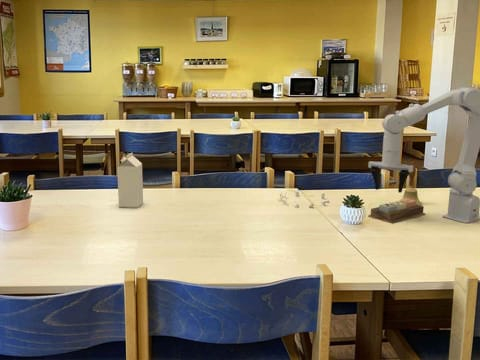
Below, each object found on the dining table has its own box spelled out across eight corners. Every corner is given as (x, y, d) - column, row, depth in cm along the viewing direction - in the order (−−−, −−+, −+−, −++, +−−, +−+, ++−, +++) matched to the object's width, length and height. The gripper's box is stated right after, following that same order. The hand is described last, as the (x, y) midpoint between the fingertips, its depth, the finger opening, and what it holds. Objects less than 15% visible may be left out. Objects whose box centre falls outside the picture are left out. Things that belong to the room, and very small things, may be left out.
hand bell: (416, 207, 201) (420, 164, 198) (395, 204, 206) (398, 162, 202) (424, 203, 207) (428, 161, 204) (403, 199, 212) (406, 159, 209)
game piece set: (278, 195, 219) (278, 186, 218) (328, 197, 217) (329, 187, 216) (276, 208, 200) (276, 198, 199) (332, 210, 198) (332, 199, 197)
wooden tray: (425, 214, 191) (425, 206, 191) (392, 223, 181) (392, 214, 180) (401, 208, 199) (402, 200, 198) (368, 216, 188) (369, 208, 188)
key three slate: (395, 213, 186) (396, 205, 185) (388, 214, 183) (388, 207, 183) (386, 210, 189) (386, 203, 188) (378, 212, 187) (379, 204, 186)
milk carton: (143, 203, 204) (141, 152, 200) (137, 208, 197) (136, 156, 193) (124, 202, 204) (122, 152, 200) (118, 207, 197) (116, 155, 193)
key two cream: (405, 210, 189) (406, 203, 188) (398, 212, 187) (399, 205, 186) (396, 208, 192) (396, 200, 192) (389, 209, 190) (389, 202, 189)
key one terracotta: (415, 208, 192) (416, 201, 192) (408, 209, 190) (409, 202, 189) (406, 205, 195) (406, 198, 195) (399, 207, 193) (399, 200, 192)
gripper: (416, 151, 183) (413, 190, 185) (373, 147, 190) (371, 185, 193) (411, 154, 177) (408, 195, 180) (367, 150, 184) (365, 189, 187)
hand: (388, 190), depth 186 cm, fingers open, 7 cm apart
